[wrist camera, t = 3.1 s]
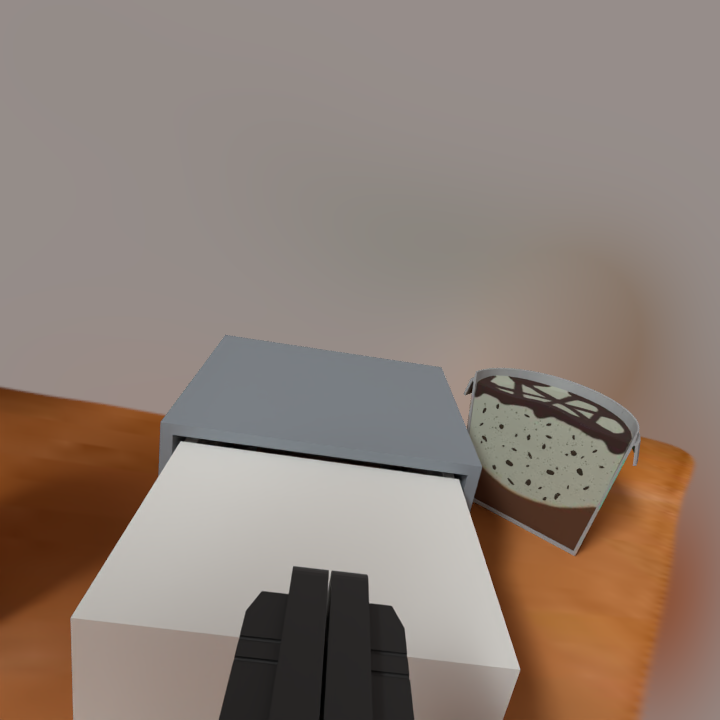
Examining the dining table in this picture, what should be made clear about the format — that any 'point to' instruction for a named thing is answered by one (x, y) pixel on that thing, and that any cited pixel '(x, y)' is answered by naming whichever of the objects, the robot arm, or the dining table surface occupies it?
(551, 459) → the food container
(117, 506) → the dining table surface
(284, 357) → the sleeve
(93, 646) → the white cuboid
